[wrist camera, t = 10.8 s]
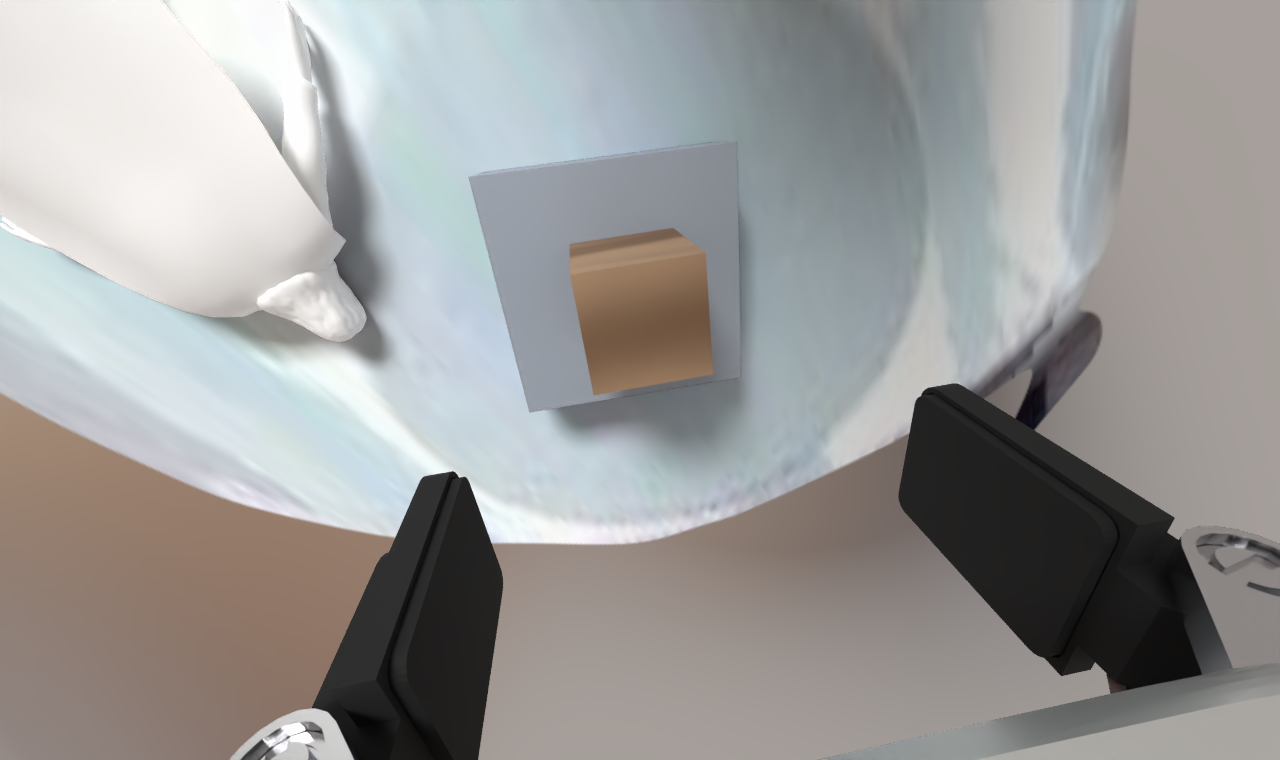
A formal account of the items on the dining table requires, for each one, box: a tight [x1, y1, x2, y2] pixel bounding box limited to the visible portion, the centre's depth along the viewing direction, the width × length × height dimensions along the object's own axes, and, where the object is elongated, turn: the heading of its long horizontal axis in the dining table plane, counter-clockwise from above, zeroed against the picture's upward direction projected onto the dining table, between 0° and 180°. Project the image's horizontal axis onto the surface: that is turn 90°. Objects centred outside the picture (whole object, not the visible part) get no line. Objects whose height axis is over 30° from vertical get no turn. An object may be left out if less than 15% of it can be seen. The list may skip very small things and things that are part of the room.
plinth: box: [469, 142, 741, 412], centre depth 26 cm, size 12×12×5 cm
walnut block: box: [570, 228, 713, 395], centre depth 21 cm, size 5×5×6 cm
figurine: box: [0, 0, 367, 342], centre depth 18 cm, size 17×9×25 cm
